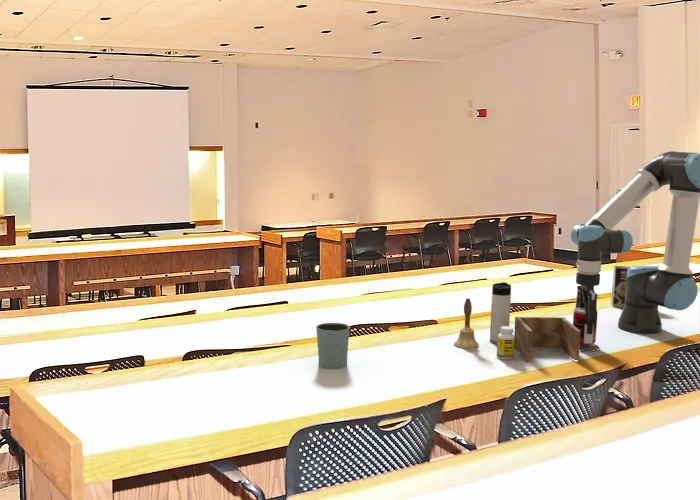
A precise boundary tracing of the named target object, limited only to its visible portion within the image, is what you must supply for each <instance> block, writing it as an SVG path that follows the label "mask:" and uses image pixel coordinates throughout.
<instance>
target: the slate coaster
mask: <svg viewBox="0 0 700 500" xmlns="http://www.w3.org/2000/svg"><path fill="white" fill-rule="evenodd" d="M597 349H600V347H599V345H598V344H595V343H594V344H591V345H582V344H580V351H579V352H585V351H592V352H594V351H593V350H597ZM597 351H598V350H597Z"/></svg>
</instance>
